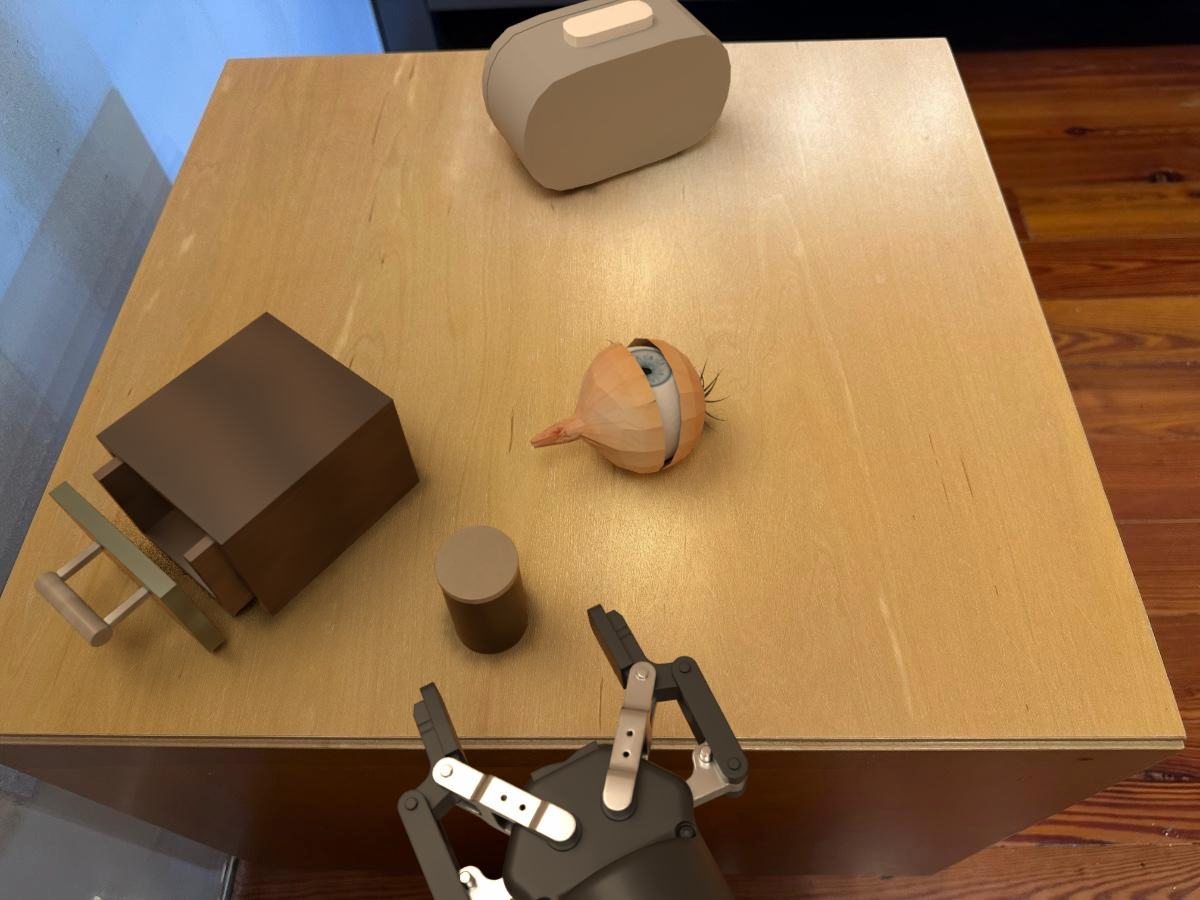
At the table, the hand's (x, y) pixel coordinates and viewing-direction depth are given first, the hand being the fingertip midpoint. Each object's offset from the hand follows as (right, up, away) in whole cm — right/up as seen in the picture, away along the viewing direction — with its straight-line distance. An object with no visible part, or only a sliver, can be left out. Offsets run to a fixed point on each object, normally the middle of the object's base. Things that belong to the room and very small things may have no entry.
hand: (513, 652), depth 44 cm
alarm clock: (+5, +39, +45) cm, 59 cm away
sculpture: (+6, +10, +24) cm, 27 cm away
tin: (-3, -1, +16) cm, 17 cm away
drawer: (-22, +2, +18) cm, 29 cm away
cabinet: (-18, +6, +22) cm, 29 cm away
